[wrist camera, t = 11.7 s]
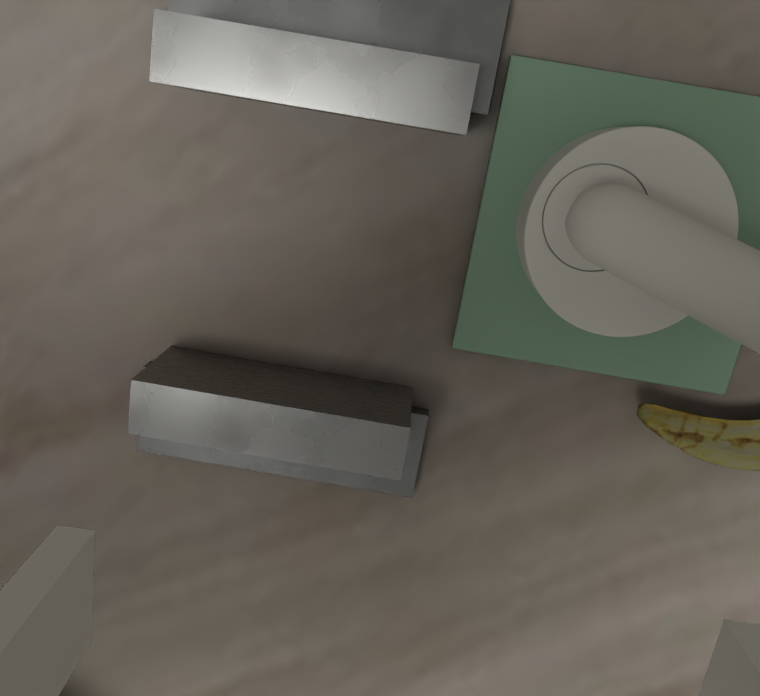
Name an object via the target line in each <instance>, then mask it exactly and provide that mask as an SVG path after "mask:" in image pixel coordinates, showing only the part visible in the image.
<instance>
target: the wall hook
mask: <svg viewBox="0 0 760 696" xmlns="http://www.w3.org/2000/svg"><path fill="white" fill-rule="evenodd" d="M738 225H739V218H738V208H737V202H736V197H735V194H734V191H733V188H732V185H731V183H730V181H729V179H728V177H727V175H726V173H725V171H724V170H723V168H722V167H721V165H720V164H719V163H718V162H717V160H716V159H715V158H714V157H713V156H712V155H711V154H710V153H709V152H708V151H707V150H706V149H705V148H703V147H702V146H701V145H699V144H698V143H696V142H695V141H693V140H691V139H690V138H688V137H686V136H684V135H681V134H679V133H676V132H674V131H670V130H667V129H662V128H657V127H649V126H631V127H613V128H606V129H601V130H597V131H593V132H590V133H588V134H585V135H582V136H580V137H578V138H576V139H574V140H572V141H571V142H569V143H567V144H566V145H564V146H563V147H561V148H560V149H559V150H557V151H556V152H555V153H554V154H553V155H552V156H550V157H549V158H548V159H547V160H546V161H545V162H544V164H543V165H542V166H541V167H540V168H539V170H538V171H537V172H536V174H535V175H534V177H533V178H532V180H531V181H530V183H529V185H528V187H527V189H526V191H525V193H524V196H523V198H522V201H521V204H520V208H519V212H518V217H517V225H516V241H517V249H518V254H519V258H520V261H521V264H522V267H523V269H524V272H525V274H526V276H527V277H528V279H529V281H530V282H531V284H532V285H533V287H534V288H535V289H536V291H537V292H538V293H539V295H540V296H541V297H542V299H543V300H544V301H545V303H546V304H547V305H548V306H549V307H550V308H551V309H552V310H553V311H554V312H555V313H556V314H558V315H559V316H560V317H561V318H563V319H564V320H566V321H567V322H569V323H571V324H572V325H574V326H576V327H578V328H581V329H583V330H585V331H588V332H591V333H595V334H599V335H604V336H612V337H631V336H639V335H645V334H649V333H653V332H656V331H659V330H662V329H664V328H667V327H669V326H671V325H673V324H675V323H677V322H679V321H680V320H682V319H684V318H685V317H687V316H690V317H692V318H694V319H696V320H698V321H700V322H701V323H703V324H705V325H707V326H709V327H711V328H712V329H714V330H716V331H718V332H720V333H722V334H723V335H725V336H727V337H729V338H731V339H733V340H735V341H736V342H738V343H740V344H742V345H744V346H746V347H747V348H749V349H751V350H753V351H755V352H757V353H759V354H760V251H759V250H757V249H755V248H753V247H751V246H749V245H747V244H745V243H743V242H741V241H739V240H737V237H738Z"/></svg>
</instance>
